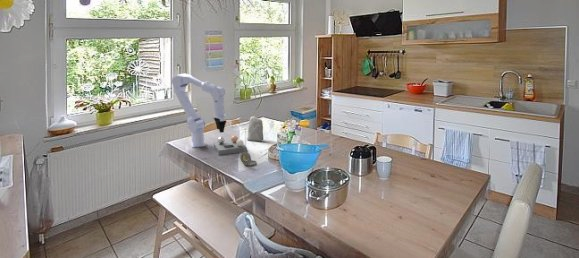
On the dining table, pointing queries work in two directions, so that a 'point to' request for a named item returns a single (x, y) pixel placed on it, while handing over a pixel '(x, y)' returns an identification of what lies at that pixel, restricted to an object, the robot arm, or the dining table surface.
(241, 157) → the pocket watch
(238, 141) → the cream ball
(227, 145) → the hole plate
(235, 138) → the terracotta ball
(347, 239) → the dining table surface
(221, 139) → the steel ball
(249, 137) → the decorative stone
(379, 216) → the dining table surface
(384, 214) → the dining table surface
